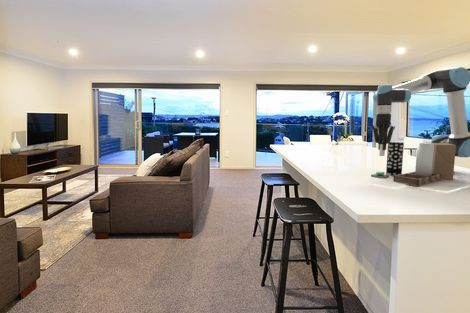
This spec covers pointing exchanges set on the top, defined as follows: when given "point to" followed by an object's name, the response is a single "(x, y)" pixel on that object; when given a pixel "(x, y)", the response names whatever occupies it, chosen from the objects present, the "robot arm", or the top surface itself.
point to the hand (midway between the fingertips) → (381, 155)
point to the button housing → (379, 176)
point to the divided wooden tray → (416, 179)
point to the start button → (380, 173)
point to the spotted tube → (394, 158)
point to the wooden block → (444, 160)
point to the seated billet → (424, 159)
